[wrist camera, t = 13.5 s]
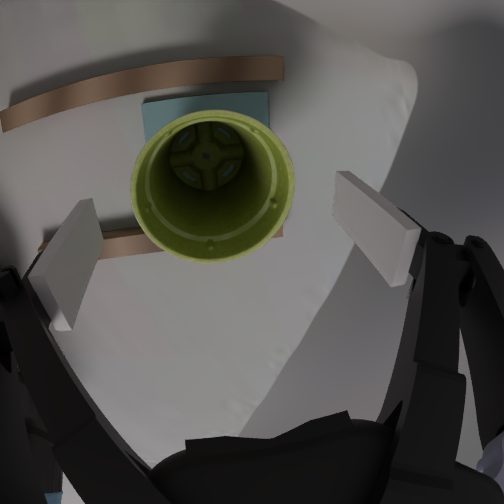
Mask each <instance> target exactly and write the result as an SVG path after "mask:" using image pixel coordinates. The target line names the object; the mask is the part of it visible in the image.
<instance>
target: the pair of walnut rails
mask: <svg viewBox="0 0 504 504" xmlns="http://www.w3.org/2000/svg"><path fill="white" fill-rule="evenodd" d="M254 80H284V65H283V56H234V57H216V58H203V59H193V60H184V61H176V62H168V63H162V64H155V65H149V66H144V67H138V68H133V69H128V70H124V71H119V72H115V73H110V74H106V75H102V76H98V77H94V78H91V79H87V80H84V81H80V82H77V83H73V84H70V85H67V86H64V87H61V88H58V89H55V90H52V91H49V92H46V93H44V94H41V95H38V96H36V97H33V98H31V99H28V100H26V101H23V102H21V103H18V104H16V105H14V106H11V107H9V108H7V109H5V110H2V111H0V119H1V125H2V131H3V133H4V132H6V131H9V130H11V129H14V128H16V127H19V126H21V125H24V124H26V123H29V122H32V121H35V120H37V119H40V118H43V117H46V116H49V115H52V114H55V113H58V112H61V111H65V110H68V109H71V108H75V107H78V106H82V105H86V104H90V103H93V102H97V101H101V100H106V99H110V98H114V97H119V96H124V95H129V94H134V93H139V92H144V91H150V90H156V89H163V88H170V87H177V86H185V85H194V84H204V83H216V82H230V81H254ZM102 236H103V239H104V242H105V243H104V246H103V248H102V250H101V253H100V255H99V258H98V260H99V259H107V258H114V257H122V256H130V255H137V254H145V253H153V252H161V251H164V250H163V249H161V248H160V247H158V246H157V245H156V244H155V243H153V242H152V241H151V240H150V238H149V237H148V236H147V235H146V234H145V232H144V231H143V229H142V228H141V227H135V228H128V229H122V230H115V231H108V232H102ZM277 237H283V224H282V225H281V227H280V228H279V229H278V230H277V232H276V233H275V234H274V235H273V236H272V237H271V238H277ZM49 242H50V241H48V242H43V243H42V244H41V246H40V247H39V249H38V253H40V252H41V251H42V250H43V249H45V248H46V247H47V245H48V244H49Z"/></svg>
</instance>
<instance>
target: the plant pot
mask: <svg viewBox="0 0 504 504" xmlns="http://www.w3.org/2000/svg"><path fill="white" fill-rule="evenodd" d="M217 128H222V129H224V130H225V131H227V132H228V133H229V134H230V136H231V138H230V139H229V138H228V137H227V136H225V135H224V134H223V133H221V132H220V131H218V130H217ZM187 132H189V133H190V135H189V136H188V137H187V138H186V139H185V140H184V141H183V143H182V144H181V146H179V141H180V139H181V137H182V136H183V135H184V134H185V133H187ZM204 153H208V154H209V155H210V157H209V158H208V159H205V158H204V157H203V155H204ZM231 164H233V165H234V168H233V170H232V171H231V172H230V173H229V175H227V176H225V177H222V174H223V173H224V172H226V171H227V170H228V168H229V167H230V165H231ZM184 171H185V172H187V173H188V174H189V175H190V176H192V177H193V178H196V181H192V180H190V179H188V178H186V177H185V176H184V175H183V172H184ZM294 186H295V176H294V169H293V164H292V161H291V158H290V156H289V153H288V151H287V149H286V148H285V146H284V144H283V143H282V141H281V140H280V139H279V138H278V137H277V136H276V134H275V133H274V132H273V131H272V130H270V129H269V128H268V127H267V126H265V125H264V124H263V123H261V122H259V121H258V120H256V119H254V118H252V117H250V116H247V115H244V114H241V113H238V112H234V111H229V110H217V109H211V110H201V111H196V112H192V113H189V114H186V115H183V116H180V117H178V118H176V119H174V120H172V121H171V122H169V123H168V124H166V125H165V126H163V127H162V128H161V129H159V130H158V131H157V132H156V133H155V134H154V135H153V136H152V137H151V138H150V139H149V140H148V142H147V143H146V144H145V146H144V147H143V149H142V150H141V152H140V154H139V156H138V157H137V160H136V162H135V165H134V168H133V172H132V176H131V184H130V197H131V204H132V208H133V211H134V214H135V217H136V219H137V221H138V223H139V225H140V226H141V228H142V229H143V231H144V232H145V234H146V235H147V236H148V237H149V238H150V240H151V241H152V242H153V243H155V244H156V245H157V246H158V247H160V248H161V249H163V250H164V251H166V252H168V253H170V254H171V255H173V256H176V257H178V258H181V259H185V260H188V261H191V262H197V263H221V262H227V261H231V260H235V259H238V258H241V257H243V256H245V255H247V254H249V253H251V252H253V251H255V250H256V249H258V248H259V247H261V246H262V245H264V244H265V243H266V242H267V241H268V240H269V239H270V238H271V237H272V236H273V235H274V234H275V233H276V232H277V230H278V229H279V228H280V227H281V225H282V224H283V222H284V220H285V219H286V217H287V214H288V212H289V209H290V207H291V204H292V200H293V196H294Z"/></svg>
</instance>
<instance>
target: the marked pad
mask: <svg viewBox="0 0 504 504" xmlns="http://www.w3.org/2000/svg"><path fill="white" fill-rule="evenodd" d="M141 106H142V115H143V123H144V131H145V139H146V143H147V142H148V140H149V139H150V138H151V137H152V136H153V135H154V134H155V133H156V132H157V131H158V130H159V129H161V128H162V127H163V126H165V125H166V124H168V123H169V122H171V121H172V120H174V119H176V118H178V117H180V116H183V115H186V114H189V113H192V112H196V111H201V110H211V109H217V110H229V111H234V112H238V113H241V114H244V115H247V116H250V117H252V118H254V119H256V120H258V121H259V122H261V123H263V124H264V125H265V126H267V127H268V128H269V122H268V92H240V93H223V94H211V95H200V96H191V97H182V98H175V99H168V100H161V101H154V102H148V103H143V104H141ZM217 130H218V131H220V132H221V133H223V134H224V135H225V136H227V137H228V138H229V139H230V138H231V136H230V134H229V133H228V132H227V131H225V130H224V129H222V128H217ZM189 135H190V133H189V132H187V133H185V134H184V135H183V136H182V137H181V139H180V141H179V146H181V144H182V143H183V141H184V140H185V139H186V138H187V137H188V136H189ZM203 157H204V158H205V159H208V158H209V157H210V155H209V154H208V153H204V155H203ZM233 168H234V165H233V164H231V165H230V167H229V168H228V170H227V171H226V172H224V173H223V174H222V177H225V176H227V175H229V173H230V172H231V171H232V170H233ZM183 175H184V176H185V177H186V178H188V179H190V180H192V181H196V178H193V177H192V176H190V175H189V174H188V173H187V172H185V171H184V172H183Z"/></svg>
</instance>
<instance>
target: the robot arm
mask: <svg viewBox="0 0 504 504" xmlns="http://www.w3.org/2000/svg"><path fill="white" fill-rule="evenodd" d="M332 216H333V217H334V218H335V220H336V221H337V222H338V223H339V224H340V225H341V226H342V228H343V229H344V230H345V231H346V232H347V233H348V235H349V236H350V237H351V238H352V239H353V241H354V242H355V243H356V244H357V245H358V246H359V248H360V249H361V250H362V251H363V253H364V254H365V255H366V256H367V257H368V259H369V260H370V261H371V262H372V264H373V265H374V266H375V267H376V269H377V270H378V271H379V272H380V274H381V275H382V276H383V277H384V279H385V280H386V281H387V283H388V284H389V285H390V286H391V287H394V286H399V285H403V284H405V282H406V279H407V276H408V273H410V274H411V275H412V276H413V281H412V284H411V287H410V289H409V292H408V295H407V299H409V301H408V307H407V312H406V318H405V322H404V327H403V332H402V337H401V341H400V346H399V349H398V354H397V358H396V362H395V365H394V369H393V373H392V377H391V380H390V384H389V387H388V390H387V394H386V397H385V400H384V403H383V407H382V410H381V412H380V414H379V416H378V418H377V420H376V422H374V421H369V420H363V419H350V417H349V414H348V411H347V410H346V411H343V412H340V413H336V414H333V415H329V416H325V417H322V418H318V419H314V420H310V421H308V422H306V423H304V424H302V425H300V426H298V427H296V428H294V429H292V430H290V431H288V432H286V433H283V434H281V435H279V436H277V437H275V438H271V439H258V438H242V437H231V436H222V437H213V438H203V439H191V440H185V445H186V450H183V451H180V452H177V453H175V454H173V455H171V456H169V457H167V458H165V459H164V460H162V461H161V462H160V463H158V464H157V465H156V466H155V467H154V468H153V469H151V468H150V467H149V466H148V465H147V464H146V463H145V462H144V461H143V460H142V459H141V458H140V457H139V456H138V455H137V454H136V453H135V452H134V451H133V450H132V448H131V447H130V446H129V445H128V444H127V443H126V442H125V440H124V439H123V438H122V437H121V436H120V434H119V433H118V432H117V431H116V430H115V428H114V427H113V426H112V425H111V423H110V422H109V421H108V419H107V418H106V417H105V416H104V414H103V413H102V412H101V410H100V409H99V408H98V406H97V405H96V404H95V402H94V401H93V399H92V398H91V397H90V395H89V394H88V392H87V391H86V389H85V388H84V386H83V385H82V383H81V382H80V380H79V379H78V377H77V376H76V374H75V373H74V371H73V370H72V368H71V366H70V365H69V363H68V361H67V360H66V358H65V356H64V355H63V353H62V351H61V350H60V348H59V346H58V344H57V343H56V341H55V339H54V337H53V335H52V334H51V332H50V330H49V329H48V327H49V324H50V322H52V324H53V325H54V327H55V329H56V330H57V331H72V329H73V326H74V323H75V320H76V317H77V314H78V311H79V308H80V305H81V302H82V299H83V296H84V294H85V291H86V288H87V285H88V283H89V280H90V278H91V275H92V272H93V270H94V267H95V265H96V262H97V260H98V258H99V255H100V253H101V250H102V248H103V246H104V243H105V242H104V239H103V236H102V232H101V229H100V225H99V222H98V218H97V215H96V211H95V207H94V203H93V199H92V198H90V199H85V200H80V201H79V202H78V203H77V205H76V206H75V207H74V209H73V210H72V211H71V213H70V214H69V215H68V217H67V218H66V219H65V221H64V222H63V224H62V225H61V226H60V228H59V229H58V231H57V232H56V234H55V235H54V236H53V238H52V239H51V241H50V242H49V244H48V245H47V247H46V248H45V249H43V250H42V251H41V252H40V253H39V254H38V255H37V256H36V258H35V259H34V261H33V263H32V264H31V266H30V267H29V269H28V270H27V272H26V274H25V275H24V277H23V279H22V280H21V278H20V276H19V274H18V272H17V270H16V268H15V267H14V266H8V267H5V268H3V269H1V270H0V504H61V497H62V494H63V491H62V479H63V478H62V477H63V472H64V474H65V475H66V477H67V478H68V480H69V481H70V483H71V484H72V485H73V487H74V489H75V490H76V492H77V493H78V495H79V496H80V497H81V499H82V500H83V501H84V503H85V504H504V269H503V268H502V266H501V264H500V262H499V261H498V259H497V257H496V256H495V254H494V252H493V251H492V249H491V247H490V246H489V245H488V244H487V242H486V241H484V240H483V239H482V238H480V237H478V236H471V235H469V236H467V237H466V239H465V242H464V245H457V244H454V242H453V240H452V239H451V238H450V237H449V236H447V235H445V234H443V233H440V232H428V231H427V230H426V229H425V228H424V227H423V226H421V225H420V224H419V223H418V222H417V221H415V220H414V219H413V218H412V217H410V215H408V214H407V213H406V212H405V211H403V210H401V209H399V208H397V207H395V206H394V205H393V204H392V203H390V202H389V201H388V200H387V199H385V198H384V197H383V196H381V195H380V194H379V193H378V192H376V191H375V190H374V189H372V188H371V187H370V186H368V185H367V184H366V183H364V182H363V181H362V180H360V179H359V178H358V177H356V176H355V175H354V174H352V173H351V172H349V171H336V182H335V193H334V203H333V213H332ZM459 330H461V334H462V338H463V342H464V346H465V350H466V355H467V359H468V364H469V369H470V375H471V380H472V386H473V392H474V398H475V406H476V414H477V423H478V430H479V436H480V440H481V445H482V449H483V455H482V458H481V459H480V460H479V461H478V463H477V467H476V470H474V469H472V468H470V467H468V466H465V465H463V464H461V463H459V462H457V461H455V460H456V455H457V450H458V445H459V439H460V434H461V427H462V421H463V413H464V404H465V394H466V377H465V375H464V374H460V373H458V362H459V333H460V331H459ZM17 364H18V366H19V369H20V372H21V373H18V370H17Z"/></svg>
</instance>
